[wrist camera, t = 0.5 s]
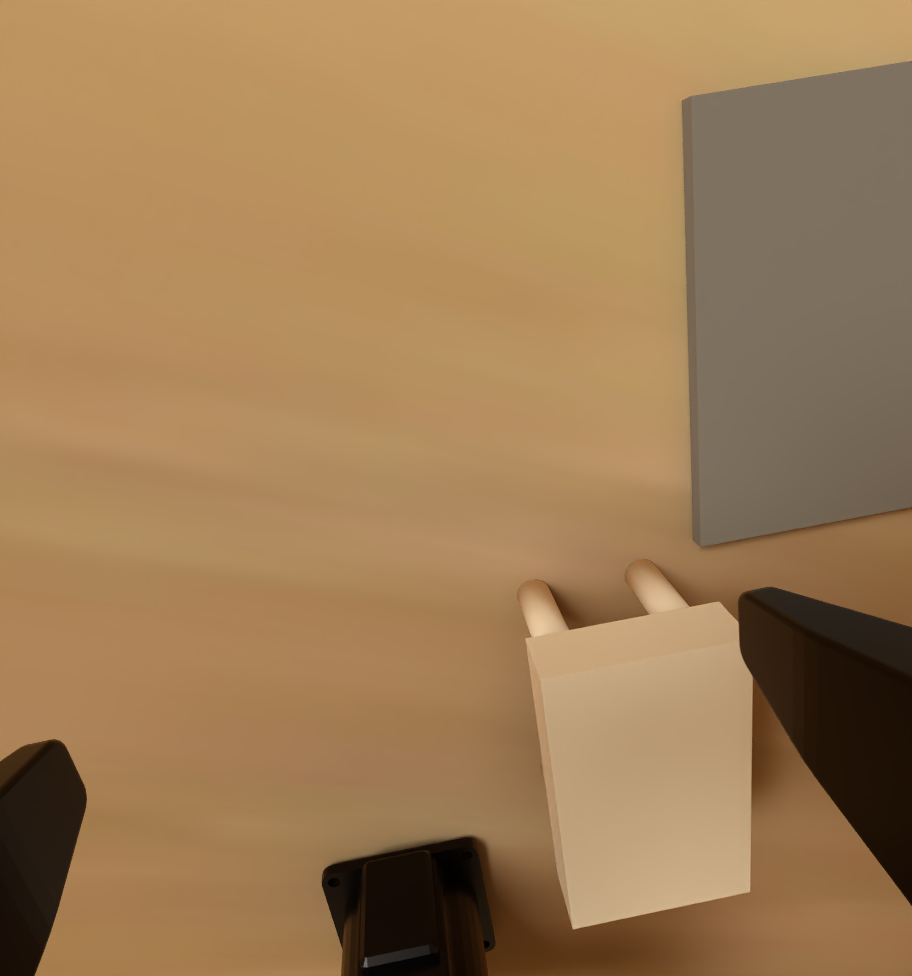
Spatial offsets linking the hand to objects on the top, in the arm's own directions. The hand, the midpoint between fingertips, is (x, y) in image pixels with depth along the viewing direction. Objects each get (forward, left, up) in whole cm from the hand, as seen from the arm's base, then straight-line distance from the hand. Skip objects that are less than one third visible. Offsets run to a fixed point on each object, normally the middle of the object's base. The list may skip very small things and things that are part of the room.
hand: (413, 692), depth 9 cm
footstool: (-11, -6, -14) cm, 18 cm away
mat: (+1, -20, -14) cm, 24 cm away
